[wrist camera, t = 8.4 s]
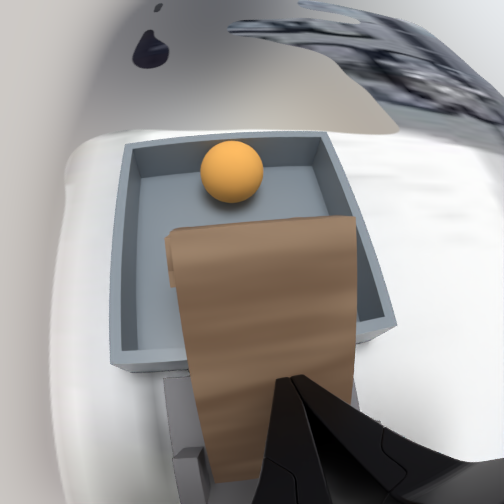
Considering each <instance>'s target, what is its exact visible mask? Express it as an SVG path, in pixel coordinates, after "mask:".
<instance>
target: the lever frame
mask: <svg viewBox="0 0 504 504" xmlns="http://www.w3.org/2000/svg"><path fill="white" fill-rule="evenodd" d="M163 380H164V390H165V399H166V407H167V415H168V423H169V430H170V437H171V443H172V450H173V456H174V457H173V458H172V461H173V466H174V472H175V477H176V483H177V488H178V493H179V498H180V502H181V504H251V501H252V498H253V496H254V493H255V490H256V487H257V484H258V480H259V478H257V479H250V480H243V481H234V482H225V483H215V482H214V478H213V474H212V470H211V467H210V463H209V459H208V455H207V451H206V447H205V443H204V438H203V434H202V430H201V425H200V421H199V416H198V412H197V407H196V402H195V398H194V393H193V388H192V383H191V378H190V376H189V377H176V378H163ZM351 406H353V407H354V408H356V409H357V410H359V411H360V409H359V403H358V398H357V393H356V388H355V383H354V378H353V387H352V398H351ZM377 422H378V423H380V424H381V422H380V421H377Z"/></svg>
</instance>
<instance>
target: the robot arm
mask: <svg viewBox="0 0 504 504" xmlns="http://www.w3.org/2000/svg"><path fill="white" fill-rule="evenodd" d="M383 427H384V426H383V425H382V424H380V423H378V422H377V421H375V420H373V419H372V418H370V417H369V416H367V415H365V414H364V413H362V412H360V411H359V410H357V409H356V408H354V407H353V406H351V405H349V404H348V403H346V402H345V401H343V400H342V399H340V398H338V397H337V396H335V395H334V394H332V393H331V392H329V391H328V390H326V389H325V388H323V387H322V386H320V385H319V384H317V383H316V382H314V381H313V380H311V379H310V378H308V377H307V376H305V375H303V374H299V375H293V376H291V377H290V378H289V377H282V378H277V379H276V380H275V386H274V393H273V400H272V406H271V413H270V419H269V426H268V432H267V438H266V444H265V450H264V456H263V461H262V466H261V471H260V476H259V480H258V484H257V487H256V490H255V493H254V496H253V498H252V501H251V504H504V458H500V459H495V460H489V461H483V462H465V461H460V460H457V459H454V458H451V457H449V456H446V455H444V454H441V453H439V452H436V451H434V450H431V449H429V448H426V447H424V446H421V445H419V444H417V443H415V442H413V441H410V440H408V439H406V438H405V437H403V436H401V435H399V434H397V433H395V432H394V431H392V430H390V429H389V428H387V427H384V428H383Z"/></svg>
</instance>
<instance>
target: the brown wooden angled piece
mask: <svg viewBox="0 0 504 504" xmlns="http://www.w3.org/2000/svg"><path fill="white" fill-rule="evenodd" d="M164 240H165V249H166V258H167V266H168V274H169V282H170V288H173V287H176V292H177V299H178V306H179V313H180V319H181V326H182V332H183V338H184V344H185V350H186V356H187V361H188V367H189V372H190V378H191V383H192V388H193V393H194V398H195V402H196V407H197V412H198V416H199V421H200V425H201V430H202V434H203V438H204V443H205V447H206V451H207V455H208V459H209V463H210V467H211V470H212V474H213V478H214V482H215V483H225V482H234V481H243V480H250V479H257V478H259V476H260V471H261V466H262V461H263V456H264V450H265V444H266V438H267V432H268V426H269V419H270V413H271V406H272V400H273V393H274V386H275V380H276V379H277V378H282V377H289V378H290V377H291V376H293V375H299V374H303V375H305V376H307V377H308V378H310V379H311V380H313V381H314V382H316V383H317V384H319V385H320V386H322V387H323V388H325V389H326V390H328V391H329V392H331V393H332V394H334V395H335V396H337V397H338V398H340V399H342V400H343V401H345V402H346V403H348V404H349V405H351V398H352V387H353V375H354V361H355V344H356V320H357V238H356V217H354V216H342V215H331V216H316V217H293V218H288V219H275V220H263V221H250V222H239V223H227V224H217V225H206V226H195V227H179V228H175V229H173V230H172V231H170V234H169V235H168V236H167V237H165V238H164Z"/></svg>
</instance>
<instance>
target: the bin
mask: <svg viewBox="0 0 504 504" xmlns="http://www.w3.org/2000/svg"><path fill="white" fill-rule="evenodd" d="M226 141H238V142H242V143H245V144H247V145H249V146H250V147H252V148H253V149H254V150H255V151H256V152H257V154H258V155H259V157H260V159H261V161H262V164H263V179H262V182H261V185H260V187H259V188H258V190H257V191H256V192H255V193H254V194H253V195H252V196H251V197H250V198H248V199H246V200H244V201H241V202H237V203H226V202H222V201H219V200H217V199H215V198H214V197H212V196H211V195H210V194H209V193H208V192H207V191H206V189H205V188H204V185H203V183H202V180H201V175H200V169H201V164H202V161H203V159H204V157H205V155H206V154H207V152H208V151H209V150H210V149H211V148H213V147H214V146H215V145H217V144H219V143H222V142H226ZM331 215H342V216H354V217H356V238H357V320H356V344H358V343H362V342H366V341H370V340H372V339H374V338H376V337H377V336H379V335H381V334H383V333H385V332H387V331H388V330H390V329H392V328H394V327H395V326H397V322H396V318H395V315H394V311H393V308H392V304H391V301H390V297H389V294H388V291H387V287H386V284H385V281H384V278H383V275H382V271H381V268H380V265H379V262H378V259H377V256H376V253H375V250H374V247H373V245H372V242H371V239H370V236H369V233H368V230H367V228H366V225H365V222H364V220H363V217H362V214H361V212H360V209H359V207H358V204H357V201H356V199H355V196H354V194H353V191H352V189H351V186H350V184H349V182H348V179H347V177H346V174H345V172H344V170H343V167H342V165H341V163H340V161H339V158H338V156H337V154H336V152H335V149H334V147H333V145H332V143H331V141H330V138H329V136H328V134H327V132H317V131H272V132H242V133H224V134H210V135H197V136H186V137H177V138H167V139H159V140H151V141H144V142H137V143H130V144H125V148H124V153H123V159H122V165H121V171H120V178H119V185H118V192H117V200H116V209H115V218H114V228H113V239H112V252H111V269H110V295H109V341H110V364H111V365H114V366H116V367H119V368H121V369H124V370H126V371H129V372H131V373H138V372H159V371H175V370H188V369H189V367H188V361H187V356H186V350H185V344H184V338H183V332H182V326H181V319H180V313H179V306H178V299H177V292H176V287H173V288H170V282H169V274H168V266H167V258H166V249H165V240H164V238H165V237H167V236H168V235H169V234H170V231H172V230H173V229H175V228H179V227H195V226H206V225H217V224H227V223H239V222H250V221H263V220H275V219H288V218H293V217H316V216H331Z"/></svg>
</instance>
